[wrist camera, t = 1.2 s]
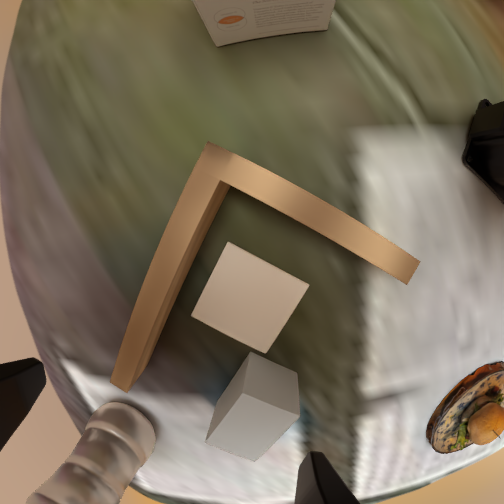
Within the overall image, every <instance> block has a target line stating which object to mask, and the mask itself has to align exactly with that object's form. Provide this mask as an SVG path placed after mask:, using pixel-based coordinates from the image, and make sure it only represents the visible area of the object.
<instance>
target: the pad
mask: <svg viewBox="0 0 504 504" xmlns="http://www.w3.org/2000/svg"><path fill="white" fill-rule="evenodd" d="M308 287H309V284H308V283H306V282H304V281H302V280H300V279H298V278H296V277H294V276H293V275H291V274H289V273H287V272H285V271H283V270H281V269H279V268H278V267H276V266H274V265H272V264H270V263H268V262H266V261H264V260H263V259H261V258H259V257H257V256H255V255H253V254H251V253H249V252H248V251H246V250H244V249H242V248H240V247H238V246H236V245H234V244H232V243H231V242H229V241H228V242H227V244H226V246H225V248H224V250H223V252H222V254H221V256H220V258H219V260H218V262H217V264H216V266H215V268H214V270H213V272H212V274H211V276H210V278H209V280H208V282H207V284H206V286H205V288H204V290H203V292H202V294H201V296H200V298H199V300H198V302H197V304H196V306H195V308H194V310H193V312H192V314H191V316H192V317H194V318H196V319H198V320H200V321H201V322H203V323H205V324H207V325H209V326H211V327H213V328H215V329H216V330H218V331H220V332H222V333H224V334H226V335H228V336H230V337H232V338H234V339H236V340H238V341H240V342H242V343H244V344H246V345H248V346H250V347H252V348H254V349H256V350H258V351H261V352H263V353H265V354H266V353H267V351H268V350H269V348H270V347H271V345H272V344H273V342H274V341H275V339H276V337H277V336H278V334H279V333H280V331H281V330H282V328H283V327H284V325H285V324H286V322H287V320H288V319H289V317H290V316H291V314H292V313H293V311H294V309H295V308H296V306H297V305H298V303H299V301H300V300H301V298H302V297H303V295H304V293H305V292H306V290H307V288H308Z"/></svg>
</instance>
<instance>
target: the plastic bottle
mask: <svg viewBox="0 0 504 504" xmlns="http://www.w3.org/2000/svg"><path fill="white" fill-rule="evenodd" d="M155 441H156V436H155V432H154V429H153V426H152V424H151V423H150V421H149V420H148V419H147V418H146V417H145V416H144V415H143V414H142V413H141V412H140V411H138V410H137V409H135V408H134V407H132V406H130V405H127V404H124V403H120V402H112V403H106V404H104V405H102V406H101V407H100V408H98V409H97V410H96V411H95V412H94V413H93V414H92V416H91V418H90V420H89V422H88V423H87V426H86V428H85V432H84V433H83V435H82V437H81V439H80V440H79V442H78V443H77V445H76V447H75V449H74V450H73V452H72V453H71V455H70V456H69V457H68V458H67V459H66V461H65V463H64V464H62V465H61V466H60V467H59V469H58V470H57V471H56V472H55V473H54V474H53V475H52V476H51V477H50V478H49V479H48V480H47V481H46V482H44V483H43V484H42V485H41V486H40V487H39V488H38V489H37V490H35V492H33V493H32V494H31V495H30V496H29V497H28V499H27V502H26V504H119V503H120V499H121V498H122V496H123V494H124V491H125V489H126V488H127V486H128V485H129V483H130V482H131V480H132V479H133V477H134V476H135V474H136V473H137V471H138V470H139V468H140V467H142V466H143V464H144V463H145V462H146V461H147V460H148V458H149V457H150V455H151V454H152V452H153V450H154V445H155Z"/></svg>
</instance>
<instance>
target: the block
mask: <svg viewBox="0 0 504 504" xmlns="http://www.w3.org/2000/svg"><path fill="white" fill-rule="evenodd" d="M299 417H300V404H299V389H298V376H297V372H294V371H292V370H290V369H288V368H285V367H283V366H281V365H279V364H276V363H274V362H272V361H270V360H268V359H266V358H263V357H261V356H259V355H257V354H255V353H253V352H251V351H250V353H249V354H248V356H247V357H246V359H245V360H244V362H243V364H242V365H241V367H240V368H239V370H238V371H237V373H236V374H235V376H234V377H233V379H232V380H231V382H230V383H229V385H228V386H227V388H226V389H225V391H224V392H223V394H222V395H221V397H220V398H219V399H218V401H217V404H216V407H215V410H214V414H213V417H212V420H211V424H210V427H209V430H208V433H207V437H206V440H205V443H206V444H209V445H211V446H214V447H216V448H219V449H221V450H224V451H226V452H229V453H231V454H234V455H237V456H240V457H242V458H245V459H248V460H251V461H254V462H255V461H256V460H257V459H258V458H259V457H260V456H262V455H263V454H264V453H265V452H266V451H267V450H268V449H269V448H270V447H271V446H272V445H273V444H274V443H275V442H276V441H277V440H278V439H279V438H280V437H281V436H282V435H283V434H284V433H285V432H286V431H287V430H288V429H289V428H290V426H291V425H292V424H293V423H294V422H295V421H296V420H297V419H298V418H299Z"/></svg>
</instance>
